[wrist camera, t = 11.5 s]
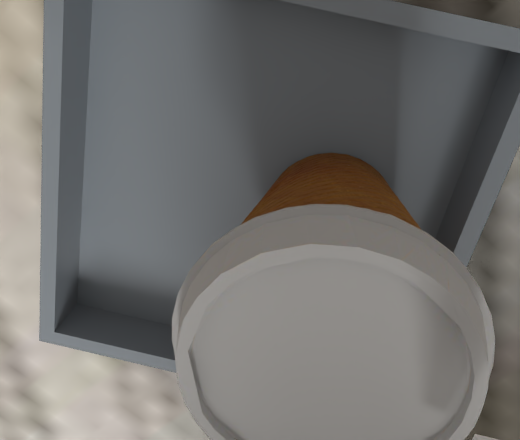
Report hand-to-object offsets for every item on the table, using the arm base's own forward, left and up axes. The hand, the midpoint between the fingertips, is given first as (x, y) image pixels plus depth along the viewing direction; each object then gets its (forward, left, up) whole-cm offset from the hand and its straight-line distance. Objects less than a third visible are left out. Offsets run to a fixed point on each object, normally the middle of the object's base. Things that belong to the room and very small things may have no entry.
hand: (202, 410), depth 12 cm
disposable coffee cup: (-3, 0, -14) cm, 14 cm away
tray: (0, 0, -15) cm, 15 cm away
